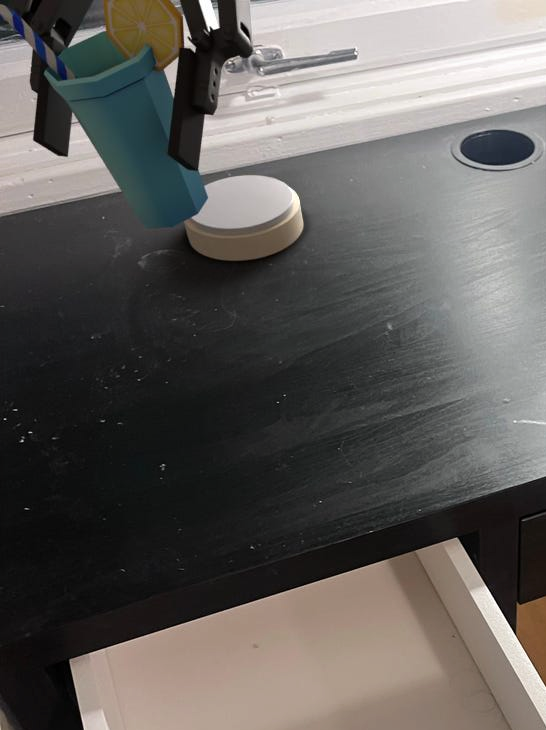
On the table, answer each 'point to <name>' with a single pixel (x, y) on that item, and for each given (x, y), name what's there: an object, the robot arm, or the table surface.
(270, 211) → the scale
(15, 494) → the table surface
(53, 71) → the cup
